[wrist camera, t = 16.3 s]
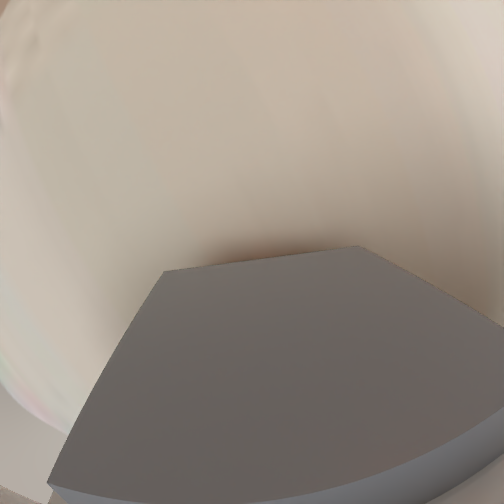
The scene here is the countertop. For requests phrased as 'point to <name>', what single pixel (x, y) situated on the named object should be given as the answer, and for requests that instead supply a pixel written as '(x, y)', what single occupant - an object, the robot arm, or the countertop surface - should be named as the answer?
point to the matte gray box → (290, 390)
